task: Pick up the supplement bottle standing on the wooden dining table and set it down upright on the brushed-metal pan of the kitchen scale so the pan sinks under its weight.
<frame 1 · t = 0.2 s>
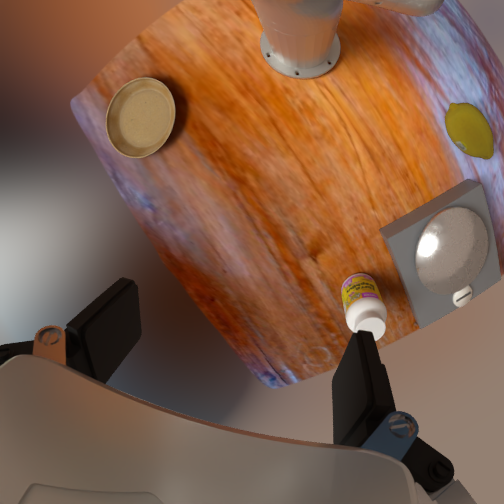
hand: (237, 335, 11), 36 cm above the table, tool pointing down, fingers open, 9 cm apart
plant saucer: (145, 117, 44), on the table
lemon: (457, 131, 35), on the table
supplement bottle: (357, 287, 49), on the table
scale pan: (453, 252, 37), point 6 cm above the table, slide at -0.4 cm
kitchen scale: (442, 250, 43), on the table
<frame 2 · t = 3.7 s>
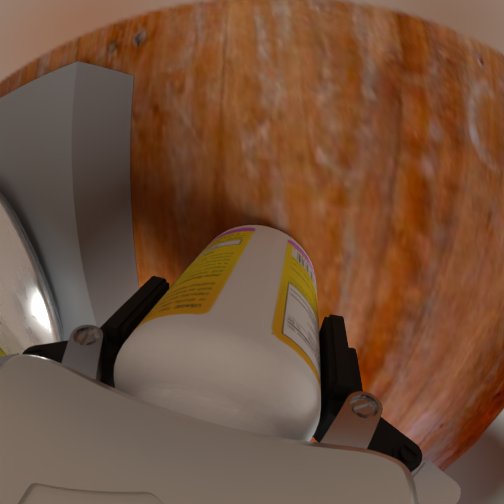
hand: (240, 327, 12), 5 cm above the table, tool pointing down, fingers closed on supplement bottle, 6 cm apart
supplement bottle: (258, 276, 16), on the table, touching gripper
kitchen scale: (40, 226, 18), on the table
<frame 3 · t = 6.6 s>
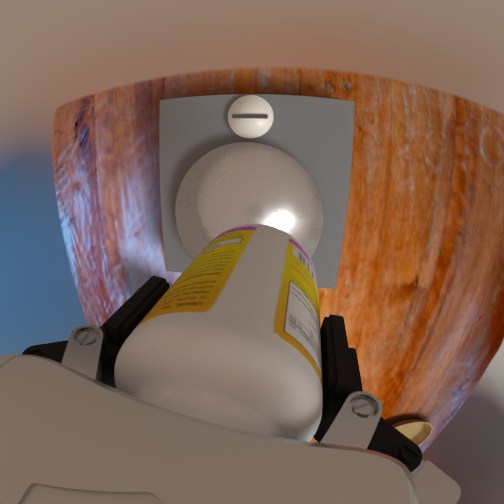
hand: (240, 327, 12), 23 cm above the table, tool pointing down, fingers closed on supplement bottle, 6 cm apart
plant saucer: (399, 430, 46), on the table
supplement bottle: (258, 275, 16), point 18 cm above the table, touching gripper
scale pan: (246, 217, 28), point 6 cm above the table, slide at -0.4 cm
kitchen scale: (256, 184, 33), on the table
when the fingers open (13 cm above the table, at t = 9.8 s): supplement bottle drops 2 cm, resting on scale pan.
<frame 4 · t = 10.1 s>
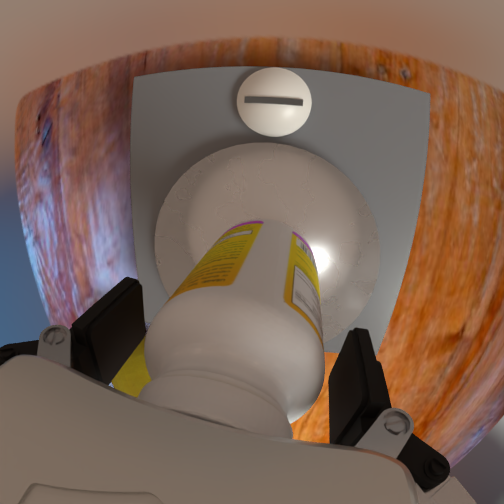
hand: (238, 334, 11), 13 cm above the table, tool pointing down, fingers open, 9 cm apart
lemon: (158, 349, 31), on the table
supplement bottle: (264, 265, 18), point 6 cm above the table, touching scale pan
scale pan: (263, 261, 18), point 6 cm above the table, slide at -0.7 cm, touching supplement bottle
kitchen scale: (274, 205, 23), on the table
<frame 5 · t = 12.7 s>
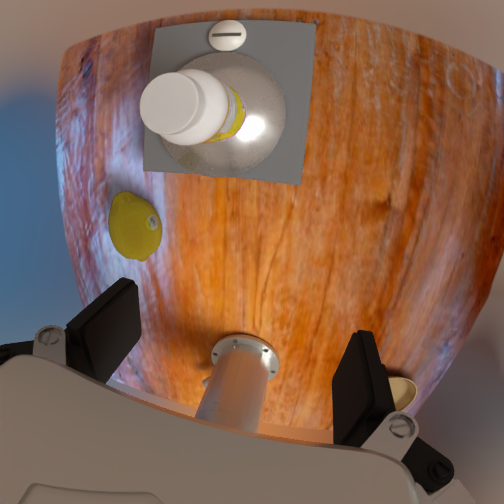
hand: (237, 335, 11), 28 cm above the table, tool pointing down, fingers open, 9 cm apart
plant saucer: (381, 391, 49), on the table
lemon: (148, 218, 42), on the table
supplement bottle: (219, 114, 29), point 6 cm above the table, touching scale pan
scale pan: (218, 113, 29), point 6 cm above the table, slide at -0.8 cm, touching supplement bottle
kitchen scale: (232, 98, 33), on the table
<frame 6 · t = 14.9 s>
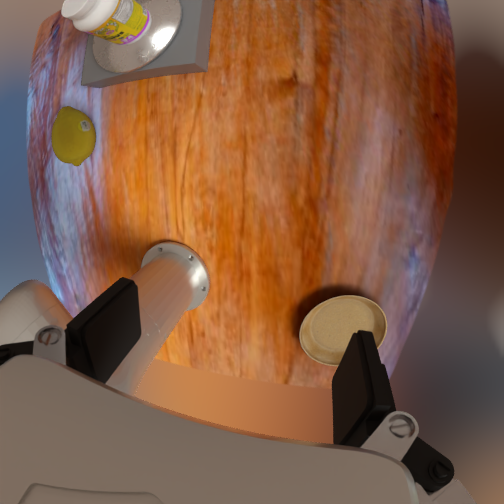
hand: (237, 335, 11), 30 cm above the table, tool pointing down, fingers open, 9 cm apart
plant saucer: (342, 324, 45), on the table
lemon: (88, 134, 40), on the table
supplement bottle: (133, 27, 27), point 6 cm above the table, touching scale pan
scale pan: (133, 27, 27), point 6 cm above the table, slide at -0.8 cm, touching supplement bottle
kitchen scale: (153, 25, 32), on the table
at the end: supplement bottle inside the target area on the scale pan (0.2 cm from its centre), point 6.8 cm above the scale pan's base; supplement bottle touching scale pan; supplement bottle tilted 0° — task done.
